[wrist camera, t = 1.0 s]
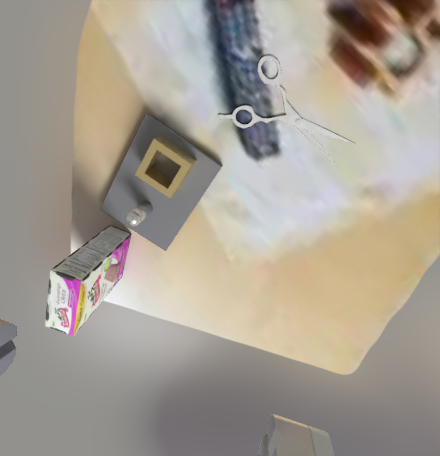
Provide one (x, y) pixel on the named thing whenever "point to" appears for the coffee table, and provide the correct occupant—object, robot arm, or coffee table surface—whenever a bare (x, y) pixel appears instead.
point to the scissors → (290, 116)
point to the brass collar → (154, 176)
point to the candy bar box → (85, 279)
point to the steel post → (139, 213)
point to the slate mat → (141, 191)
